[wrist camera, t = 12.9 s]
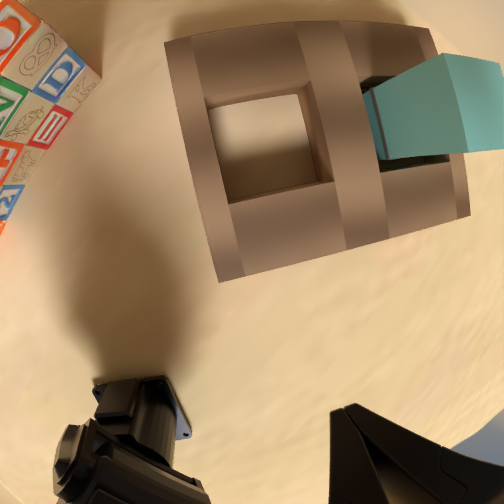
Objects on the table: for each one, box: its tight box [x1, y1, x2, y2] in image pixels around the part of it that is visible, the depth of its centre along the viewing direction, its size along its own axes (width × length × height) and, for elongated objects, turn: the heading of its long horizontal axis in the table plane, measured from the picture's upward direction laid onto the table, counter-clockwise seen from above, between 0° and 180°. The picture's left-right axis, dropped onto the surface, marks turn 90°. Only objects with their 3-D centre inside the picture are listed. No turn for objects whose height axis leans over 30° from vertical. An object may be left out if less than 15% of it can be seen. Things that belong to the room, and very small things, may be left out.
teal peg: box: [362, 53, 504, 160], centre depth 15 cm, size 4×4×10 cm
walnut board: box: [164, 21, 471, 283], centre depth 18 cm, size 14×18×3 cm
